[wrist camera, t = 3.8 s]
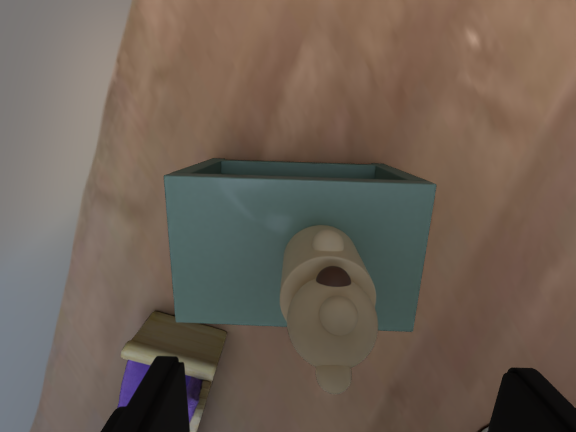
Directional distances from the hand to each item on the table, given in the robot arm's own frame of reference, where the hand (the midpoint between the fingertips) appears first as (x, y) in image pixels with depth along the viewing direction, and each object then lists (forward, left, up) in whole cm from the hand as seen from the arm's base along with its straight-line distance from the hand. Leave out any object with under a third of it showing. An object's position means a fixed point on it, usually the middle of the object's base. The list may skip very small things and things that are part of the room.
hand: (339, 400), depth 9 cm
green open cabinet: (+1, 0, -22) cm, 22 cm away
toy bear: (0, 0, -11) cm, 11 cm away
